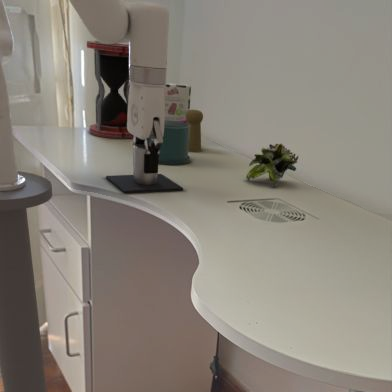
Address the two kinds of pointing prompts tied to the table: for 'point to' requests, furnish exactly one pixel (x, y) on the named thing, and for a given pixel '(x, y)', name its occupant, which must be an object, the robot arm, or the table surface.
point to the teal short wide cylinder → (174, 143)
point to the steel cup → (141, 167)
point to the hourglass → (111, 89)
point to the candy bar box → (176, 101)
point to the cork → (194, 129)
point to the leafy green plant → (272, 162)
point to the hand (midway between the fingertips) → (145, 168)
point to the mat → (129, 186)
